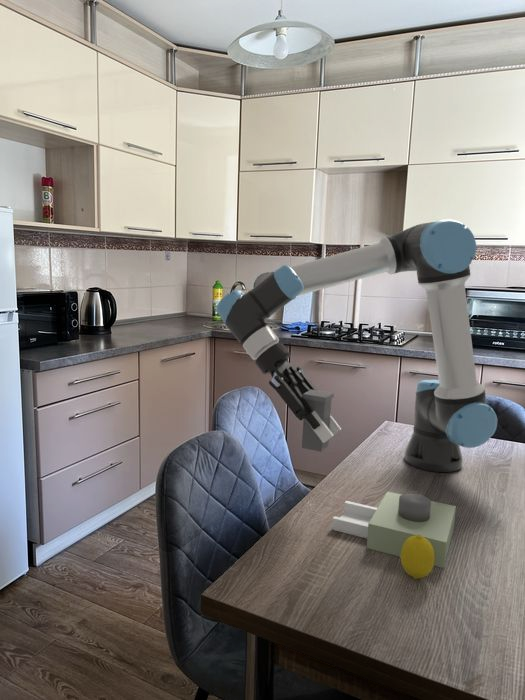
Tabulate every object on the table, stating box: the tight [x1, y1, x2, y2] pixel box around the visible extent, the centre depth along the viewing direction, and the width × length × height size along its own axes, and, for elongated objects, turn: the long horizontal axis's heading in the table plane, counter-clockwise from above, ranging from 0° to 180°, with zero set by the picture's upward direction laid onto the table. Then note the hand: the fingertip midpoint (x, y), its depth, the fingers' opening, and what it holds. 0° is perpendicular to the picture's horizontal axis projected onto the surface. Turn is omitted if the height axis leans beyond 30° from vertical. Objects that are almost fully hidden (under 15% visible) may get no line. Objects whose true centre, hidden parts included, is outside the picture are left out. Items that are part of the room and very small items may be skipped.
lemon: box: [400, 535, 435, 580], centre depth 89 cm, size 6×6×8 cm
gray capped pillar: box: [301, 389, 335, 453], centre depth 113 cm, size 5×5×12 cm
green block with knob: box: [331, 491, 457, 569], centre depth 104 cm, size 22×16×8 cm
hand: (332, 435), depth 112 cm, fingers closed on gray capped pillar, 4 cm apart
